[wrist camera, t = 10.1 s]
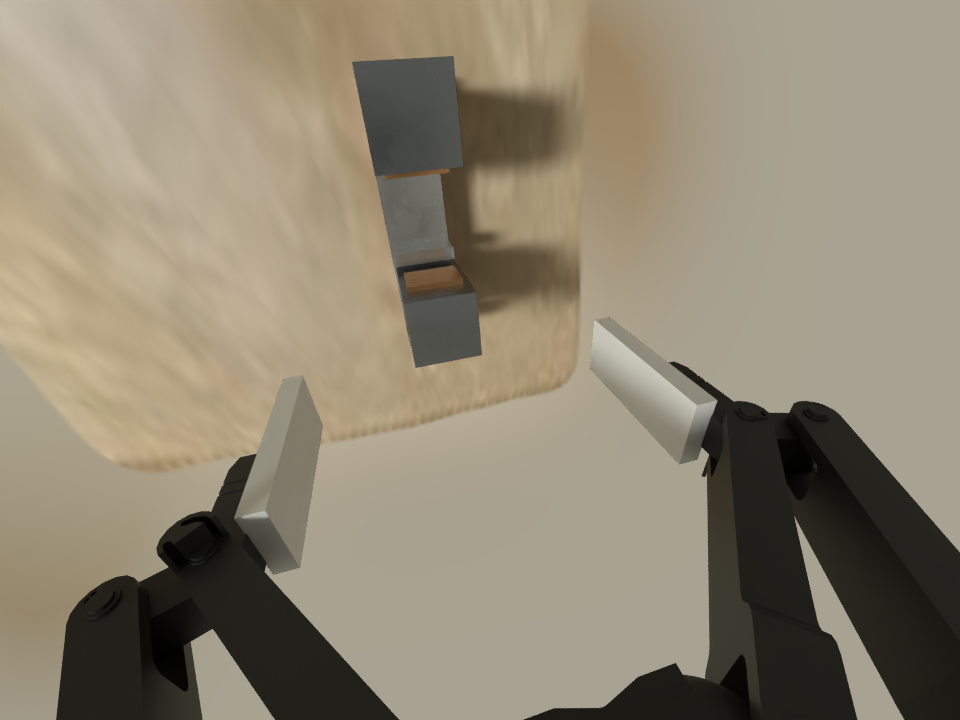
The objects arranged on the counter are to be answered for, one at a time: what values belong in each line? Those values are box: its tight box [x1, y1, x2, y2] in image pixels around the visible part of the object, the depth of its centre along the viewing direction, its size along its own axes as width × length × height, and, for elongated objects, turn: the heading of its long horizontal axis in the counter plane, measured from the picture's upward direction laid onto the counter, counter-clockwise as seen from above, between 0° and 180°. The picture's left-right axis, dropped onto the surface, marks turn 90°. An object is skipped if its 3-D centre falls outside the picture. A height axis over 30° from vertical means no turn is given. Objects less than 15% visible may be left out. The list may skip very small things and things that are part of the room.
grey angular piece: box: [352, 56, 463, 346], centre depth 23 cm, size 16×4×10 cm, turn 5°
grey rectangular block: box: [396, 259, 482, 368], centre depth 24 cm, size 4×4×8 cm
